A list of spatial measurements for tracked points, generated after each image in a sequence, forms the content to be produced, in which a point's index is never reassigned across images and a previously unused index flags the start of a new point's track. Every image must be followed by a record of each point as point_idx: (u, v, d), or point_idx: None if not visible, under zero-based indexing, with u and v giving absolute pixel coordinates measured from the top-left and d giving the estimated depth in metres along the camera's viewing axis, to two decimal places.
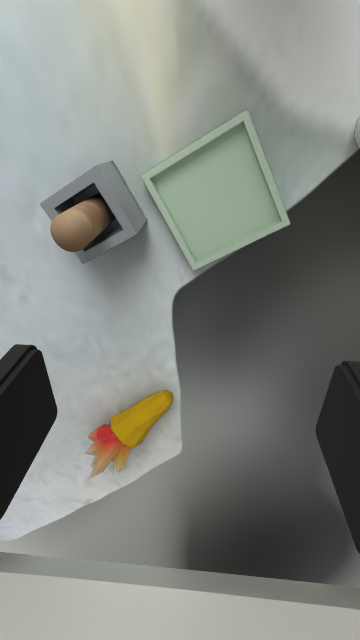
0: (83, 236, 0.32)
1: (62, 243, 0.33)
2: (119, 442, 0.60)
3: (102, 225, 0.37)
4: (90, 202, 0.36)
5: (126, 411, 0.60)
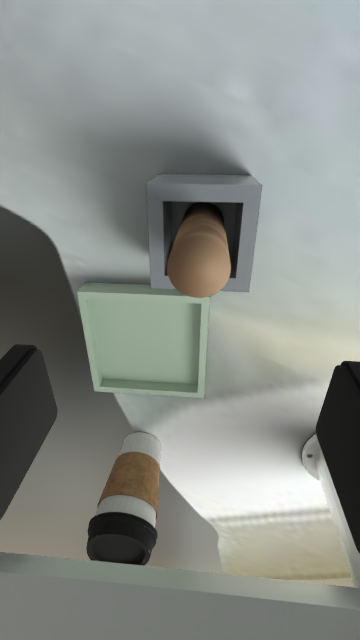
0: (183, 284, 0.20)
1: (191, 246, 0.19)
2: None
3: None
4: None
5: None
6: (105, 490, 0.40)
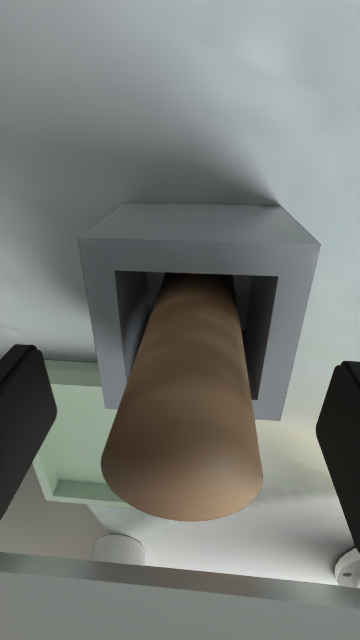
0: (144, 498, 0.08)
1: (158, 436, 0.07)
2: None
3: None
4: None
5: None
6: None
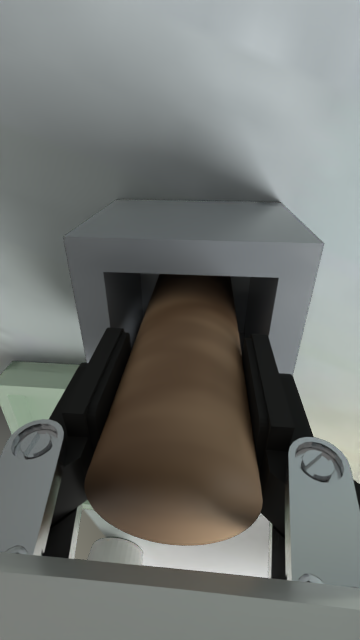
0: (133, 522, 0.08)
1: (147, 459, 0.06)
2: None
3: None
4: None
5: None
6: None
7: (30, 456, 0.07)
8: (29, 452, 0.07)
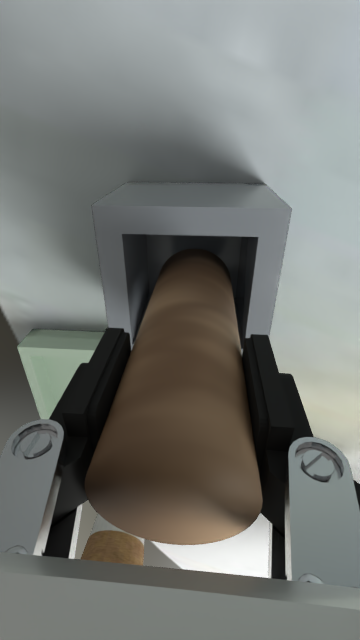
0: (133, 521, 0.08)
1: (147, 458, 0.06)
2: None
3: None
4: None
5: None
6: None
7: (30, 456, 0.07)
8: (29, 452, 0.07)
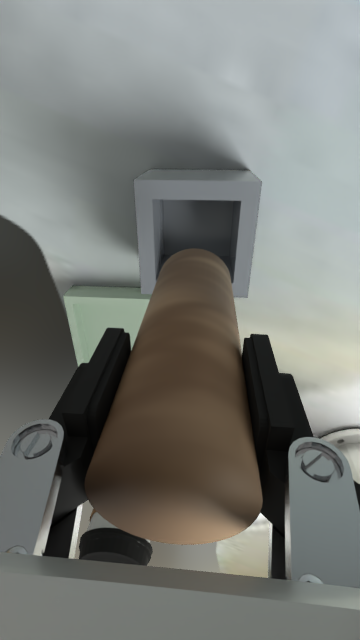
0: (133, 521, 0.08)
1: (147, 458, 0.06)
2: None
3: None
4: None
5: None
6: None
7: (30, 456, 0.07)
8: (29, 452, 0.07)
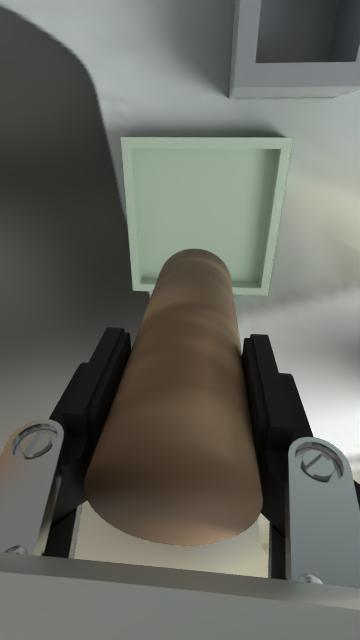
0: (133, 522, 0.08)
1: (147, 459, 0.06)
2: None
3: None
4: None
5: None
6: None
7: (30, 456, 0.07)
8: (29, 452, 0.07)
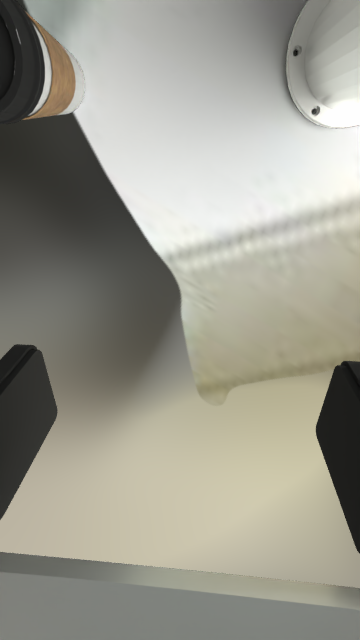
0: None
1: None
2: None
3: None
4: None
5: None
6: None
7: None
8: None
